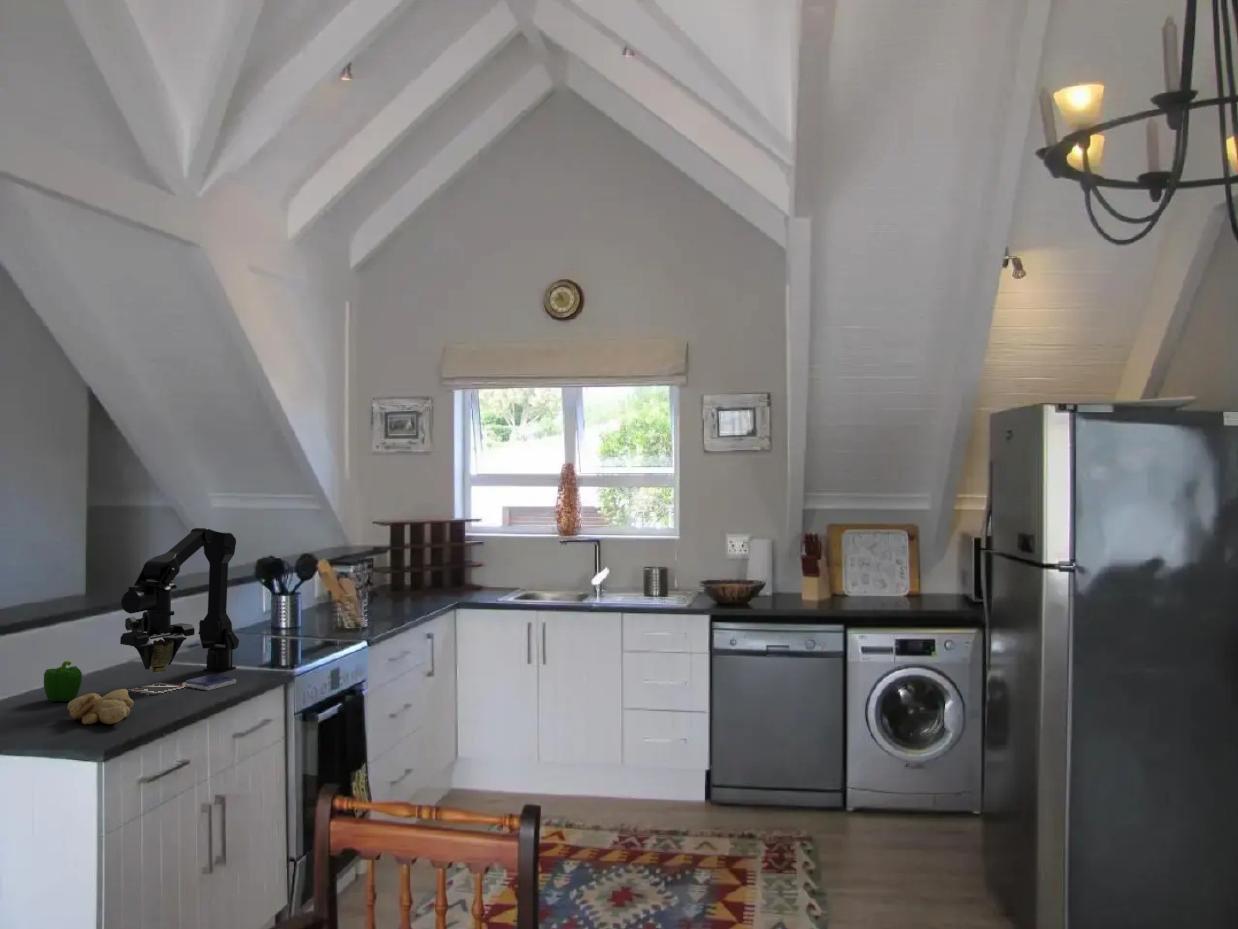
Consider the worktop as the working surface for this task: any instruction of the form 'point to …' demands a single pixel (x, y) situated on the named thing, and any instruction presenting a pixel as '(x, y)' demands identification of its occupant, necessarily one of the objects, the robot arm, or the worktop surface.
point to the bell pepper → (62, 682)
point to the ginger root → (101, 707)
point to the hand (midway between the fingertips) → (158, 667)
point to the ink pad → (209, 682)
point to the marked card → (158, 686)
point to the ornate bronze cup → (161, 655)
